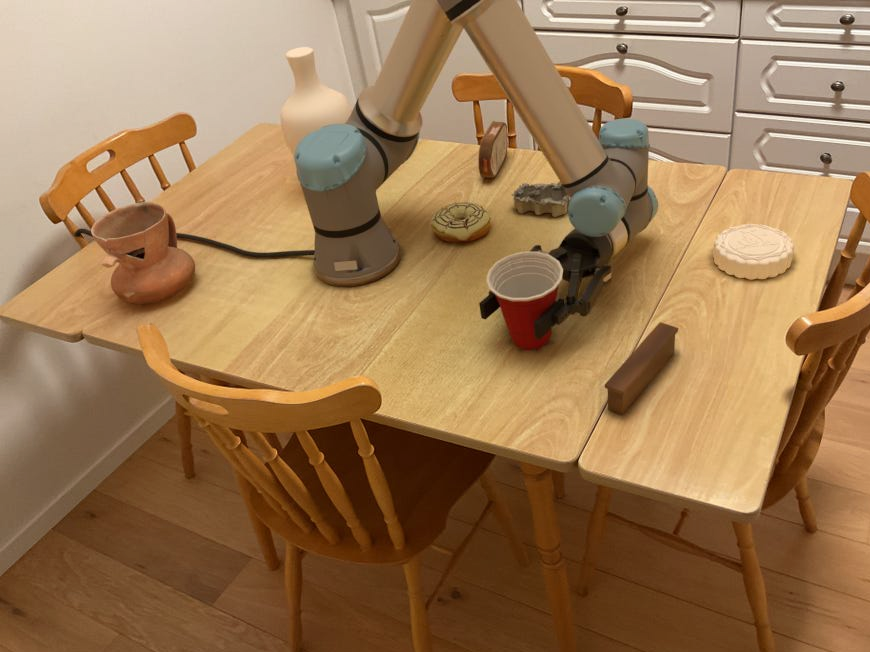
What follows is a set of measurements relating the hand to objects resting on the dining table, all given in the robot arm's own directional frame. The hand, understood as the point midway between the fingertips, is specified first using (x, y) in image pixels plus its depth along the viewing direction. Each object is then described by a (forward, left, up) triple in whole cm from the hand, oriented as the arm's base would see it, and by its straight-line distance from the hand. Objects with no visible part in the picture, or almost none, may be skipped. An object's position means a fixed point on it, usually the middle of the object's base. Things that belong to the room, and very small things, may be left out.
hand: (508, 321), depth 109 cm
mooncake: (+23, +37, -7) cm, 44 cm away
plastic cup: (0, +5, -7) cm, 8 cm away
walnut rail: (+19, +3, -7) cm, 20 cm away
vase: (-63, +34, -7) cm, 71 cm away
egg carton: (-17, +41, -7) cm, 44 cm away
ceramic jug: (-69, -8, -7) cm, 69 cm away
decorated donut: (-27, +28, -7) cm, 39 cm away
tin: (-34, +52, -7) cm, 62 cm away
